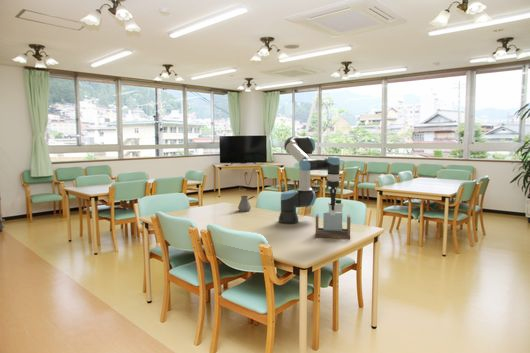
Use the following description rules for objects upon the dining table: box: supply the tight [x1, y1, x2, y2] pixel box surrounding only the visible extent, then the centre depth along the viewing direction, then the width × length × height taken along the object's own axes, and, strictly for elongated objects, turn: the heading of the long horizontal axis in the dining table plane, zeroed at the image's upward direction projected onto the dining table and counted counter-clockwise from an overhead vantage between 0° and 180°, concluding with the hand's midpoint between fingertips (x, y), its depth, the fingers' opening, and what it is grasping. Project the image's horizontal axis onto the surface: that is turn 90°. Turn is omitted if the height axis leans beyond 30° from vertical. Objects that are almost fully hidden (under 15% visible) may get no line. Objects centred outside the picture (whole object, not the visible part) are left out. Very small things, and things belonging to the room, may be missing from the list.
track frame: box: [314, 213, 351, 240], centre depth 239 cm, size 12×22×14 cm, turn 80°
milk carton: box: [328, 199, 344, 213], centre depth 258 cm, size 9×9×20 cm
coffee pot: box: [237, 195, 256, 213], centre depth 315 cm, size 21×12×15 cm, turn 37°
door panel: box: [322, 211, 343, 231], centre depth 239 cm, size 3×12×14 cm, turn 80°
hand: (332, 212), depth 238 cm, fingers open, 13 cm apart
